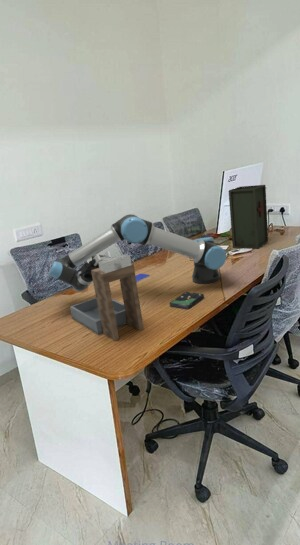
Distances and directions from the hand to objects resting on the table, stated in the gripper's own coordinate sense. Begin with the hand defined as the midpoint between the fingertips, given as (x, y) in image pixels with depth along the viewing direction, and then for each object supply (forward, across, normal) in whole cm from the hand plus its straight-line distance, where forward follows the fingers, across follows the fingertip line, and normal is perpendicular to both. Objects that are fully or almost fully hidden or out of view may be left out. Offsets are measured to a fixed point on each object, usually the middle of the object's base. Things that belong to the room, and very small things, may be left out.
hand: (104, 255), depth 150 cm
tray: (-28, 0, -21) cm, 35 cm away
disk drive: (-13, -37, -30) cm, 50 cm away
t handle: (-1, 0, -4) cm, 4 cm away
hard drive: (-60, -44, -4) cm, 74 cm away
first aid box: (-51, -134, -8) cm, 143 cm away
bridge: (-11, 0, -31) cm, 33 cm away
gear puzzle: (-85, -142, +11) cm, 166 cm away
